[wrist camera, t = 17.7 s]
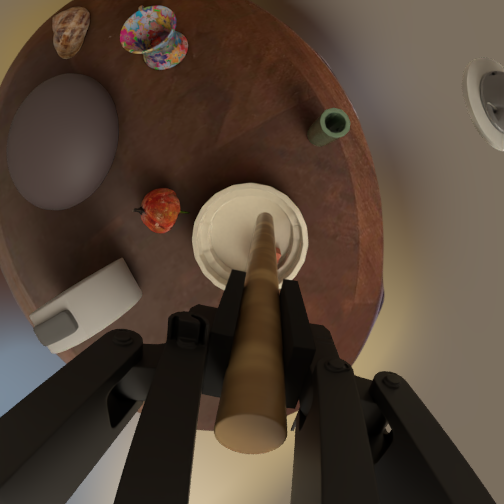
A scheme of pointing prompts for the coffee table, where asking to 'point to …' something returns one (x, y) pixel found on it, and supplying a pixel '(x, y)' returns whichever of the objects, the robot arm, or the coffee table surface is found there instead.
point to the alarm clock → (86, 307)
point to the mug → (154, 37)
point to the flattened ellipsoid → (62, 141)
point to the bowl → (247, 231)
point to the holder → (329, 127)
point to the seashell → (70, 31)
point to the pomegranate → (160, 210)
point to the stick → (256, 357)
